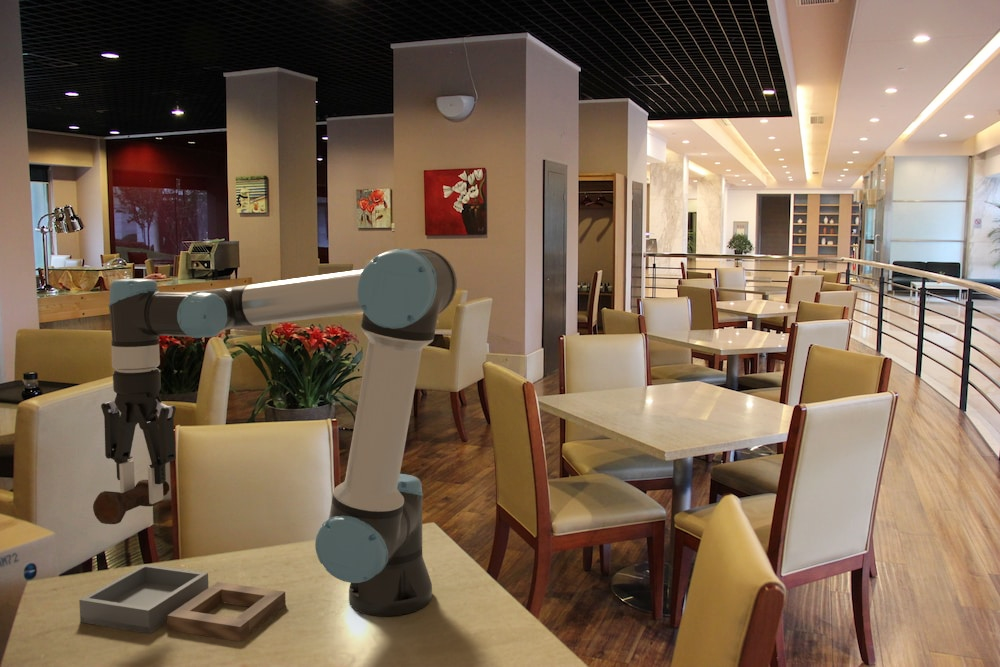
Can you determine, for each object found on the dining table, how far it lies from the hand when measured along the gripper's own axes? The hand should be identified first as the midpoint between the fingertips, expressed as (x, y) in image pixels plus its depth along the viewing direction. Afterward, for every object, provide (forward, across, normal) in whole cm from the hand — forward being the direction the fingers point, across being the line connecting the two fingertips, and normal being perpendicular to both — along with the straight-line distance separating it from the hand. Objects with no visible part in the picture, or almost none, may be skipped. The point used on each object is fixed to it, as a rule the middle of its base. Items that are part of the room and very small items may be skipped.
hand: (142, 499), depth 142 cm
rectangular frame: (+20, -16, -1) cm, 26 cm away
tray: (+20, 0, 0) cm, 20 cm away
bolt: (-3, 0, +1) cm, 4 cm away
